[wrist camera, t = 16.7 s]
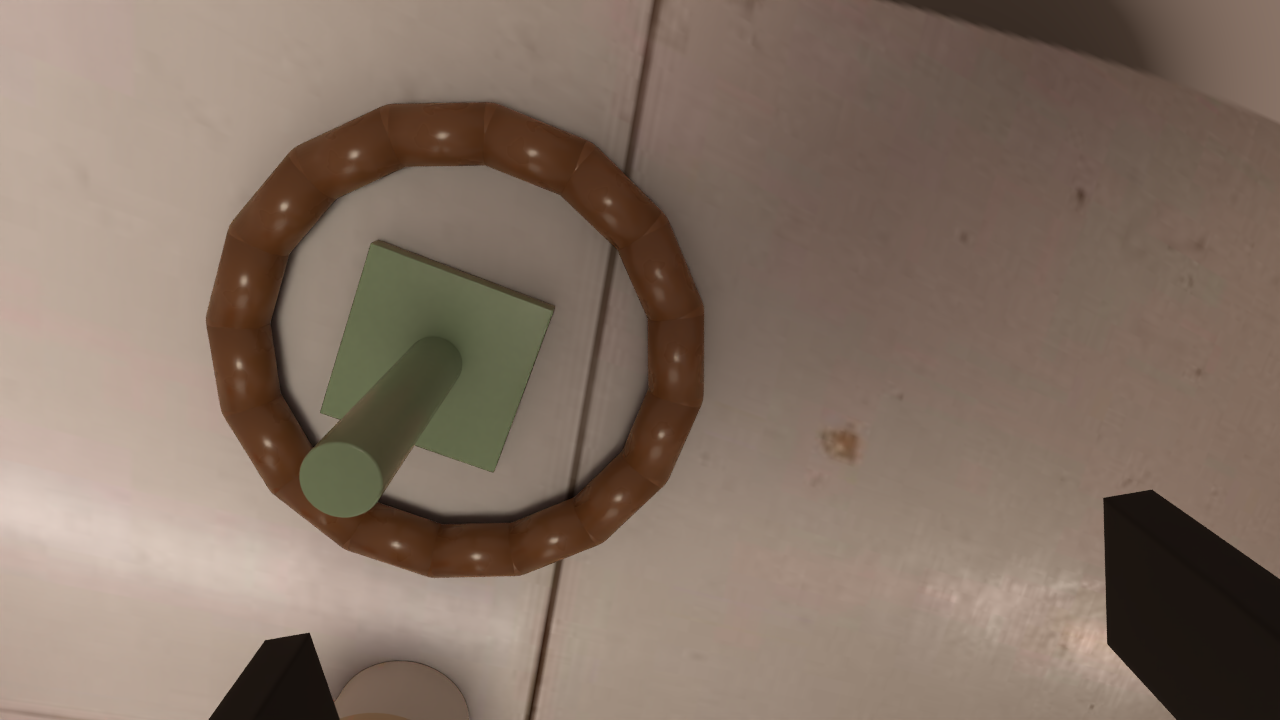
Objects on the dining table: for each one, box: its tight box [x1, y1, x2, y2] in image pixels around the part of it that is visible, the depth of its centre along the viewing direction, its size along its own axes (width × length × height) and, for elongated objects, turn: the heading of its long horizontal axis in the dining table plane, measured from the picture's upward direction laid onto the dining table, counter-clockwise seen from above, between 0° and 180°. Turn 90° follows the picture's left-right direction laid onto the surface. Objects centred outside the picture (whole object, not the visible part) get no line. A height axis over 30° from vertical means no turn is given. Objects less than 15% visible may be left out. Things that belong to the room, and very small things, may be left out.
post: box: [299, 240, 555, 518], centre depth 29 cm, size 8×8×13 cm
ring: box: [206, 102, 704, 578], centre depth 34 cm, size 21×21×2 cm
